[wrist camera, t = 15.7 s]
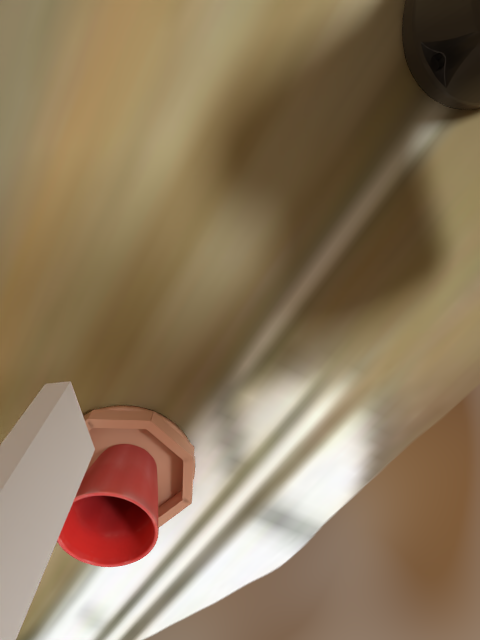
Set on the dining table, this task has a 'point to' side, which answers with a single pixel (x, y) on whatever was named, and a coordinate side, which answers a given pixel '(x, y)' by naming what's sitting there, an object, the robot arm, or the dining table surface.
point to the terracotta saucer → (149, 450)
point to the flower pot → (114, 509)
